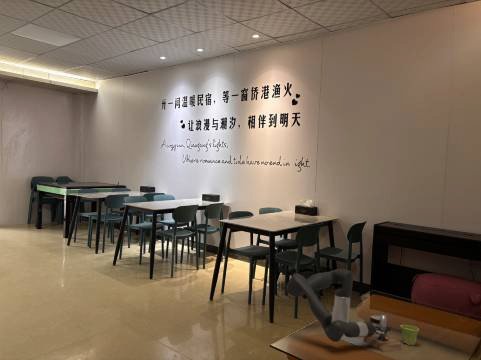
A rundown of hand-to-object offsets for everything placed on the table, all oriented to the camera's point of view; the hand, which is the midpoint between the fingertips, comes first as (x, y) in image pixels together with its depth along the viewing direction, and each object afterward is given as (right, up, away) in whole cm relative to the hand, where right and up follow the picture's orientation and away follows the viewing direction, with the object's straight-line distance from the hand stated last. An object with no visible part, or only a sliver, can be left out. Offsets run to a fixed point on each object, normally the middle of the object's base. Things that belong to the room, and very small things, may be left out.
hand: (386, 327), depth 200 cm
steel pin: (-3, -7, -2) cm, 8 cm away
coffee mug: (+1, -11, +17) cm, 20 cm away
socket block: (-3, -9, -2) cm, 10 cm away
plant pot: (+15, -11, +7) cm, 20 cm away
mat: (-17, -8, +2) cm, 19 cm away
